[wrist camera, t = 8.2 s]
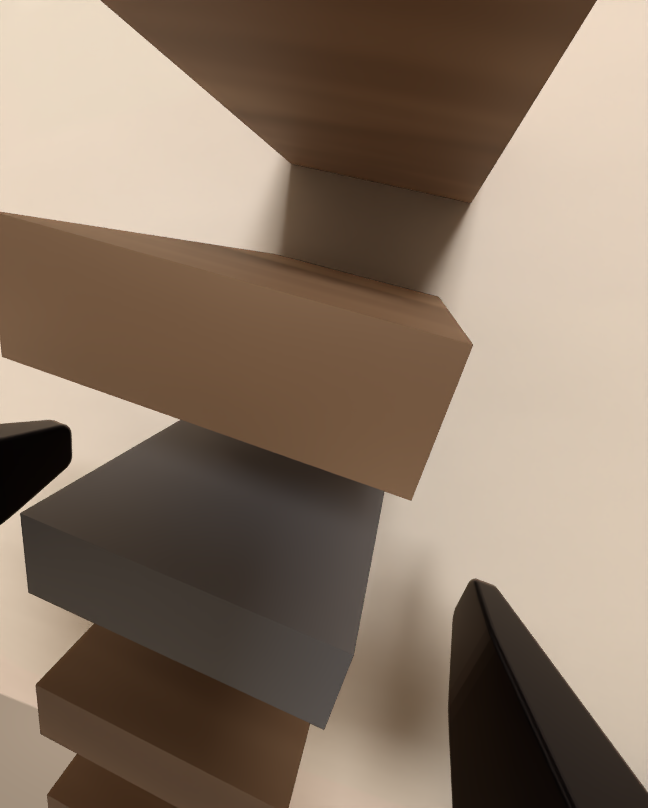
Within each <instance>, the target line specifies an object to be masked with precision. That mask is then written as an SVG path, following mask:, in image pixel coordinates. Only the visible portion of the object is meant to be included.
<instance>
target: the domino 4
mask: <svg viewBox="0 0 648 808" xmlns="http://www.w3.org/2000/svg"><path fill="white" fill-rule="evenodd" d="M47 799H48V808H177V807H175V806H174V805H172V804H170V803H168V802H166V801H164V800H162V799H161V798H159V797H157V796H155V795H153V794H151V793H149V792H147V791H146V790H144V789H142V788H140V787H138V786H136V785H134V784H133V783H131V782H129V781H127V780H125V779H123V778H121V777H120V776H118V775H116V774H114V773H112V772H110V771H108V770H107V769H105V768H103V767H101V766H99V765H97V764H95V763H94V762H92V761H90V760H88V759H86V758H84V757H82V756H81V755H79V754H76V756H75V757H74V759H73V760H72V761H71V763H70V764H69V765H68V767H67V768H66V770H65V771H64V772H63V774H62V775H61V777H60V778H59V779H58V781H57V782H56V783H55V785H54V786H53V787H52V789H51V790H50V792H49V793H48V794H47Z"/></svg>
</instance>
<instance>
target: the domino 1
mask: <svg viewBox="0 0 648 808" xmlns="http://www.w3.org/2000/svg"><path fill="white" fill-rule="evenodd" d="M101 1H102V2H103V3H104V4H105V5H107V6H108V7H109V8H110V9H111V10H112V11H114V12H115V13H116V14H117V15H118V16H119V17H121V18H122V19H123V20H124V21H125V22H126V23H128V24H129V25H130V26H131V27H132V28H133V29H135V30H136V31H137V32H138V33H139V34H140V35H142V36H143V37H144V38H145V39H146V40H147V41H149V42H150V43H151V44H152V45H153V46H154V47H156V48H157V49H158V50H159V51H160V52H161V53H163V54H164V55H165V56H166V57H167V58H168V59H170V60H171V61H172V62H173V63H174V64H175V65H177V66H178V67H179V68H180V69H181V70H182V71H184V72H185V73H186V74H187V75H188V76H189V77H191V78H192V79H193V80H194V81H195V82H196V83H198V84H199V85H200V86H201V87H202V88H203V89H205V90H206V91H207V92H208V93H209V94H210V95H212V96H213V97H214V98H215V99H216V100H217V101H219V102H220V103H221V104H222V105H223V106H224V107H226V108H227V109H228V110H229V111H230V112H231V113H233V114H234V115H235V116H236V117H237V118H238V119H240V120H241V121H242V122H243V123H244V124H245V125H247V126H248V127H249V128H250V129H251V130H252V131H254V132H255V133H256V134H257V135H258V136H259V137H261V138H262V139H263V140H264V141H265V142H266V143H268V144H269V145H270V146H271V147H272V148H273V149H275V150H276V151H277V152H278V153H279V154H280V155H282V156H283V157H284V158H285V159H286V160H287V161H289V162H290V163H291V164H295V165H299V166H304V167H308V168H313V169H318V170H322V171H327V172H331V173H336V174H340V175H345V176H350V177H354V178H359V179H363V180H368V181H372V182H377V183H382V184H386V185H391V186H395V187H400V188H405V189H409V190H414V191H418V192H423V193H427V194H432V195H437V196H441V197H446V198H450V199H455V200H459V201H464V202H469V203H471V202H472V201H473V199H474V197H475V196H476V194H477V193H478V191H479V189H480V188H481V186H482V185H483V183H484V181H485V180H486V178H487V176H488V175H489V173H490V172H491V170H492V168H493V167H494V165H495V164H496V162H497V160H498V159H499V157H500V156H501V154H502V152H503V151H504V149H505V147H506V146H507V144H508V143H509V141H510V139H511V138H512V136H513V135H514V133H515V131H516V130H517V128H518V127H519V125H520V123H521V122H522V120H523V118H524V117H525V115H526V114H527V112H528V110H529V109H530V107H531V106H532V104H533V102H534V101H535V99H536V97H537V96H538V94H539V93H540V91H541V89H542V88H543V86H544V85H545V83H546V81H547V80H548V78H549V77H550V75H551V73H552V72H553V70H554V68H555V67H556V65H557V64H558V62H559V60H560V59H561V57H562V56H563V54H564V52H565V51H566V49H567V48H568V46H569V44H570V43H571V41H572V39H573V38H574V36H575V35H576V33H577V31H578V30H579V28H580V27H581V25H582V23H583V22H584V20H585V19H586V17H587V15H588V14H589V12H590V10H591V9H592V7H593V6H594V4H595V2H596V1H597V0H101Z"/></svg>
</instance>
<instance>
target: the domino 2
mask: <svg viewBox="0 0 648 808" xmlns="http://www.w3.org/2000/svg"><path fill="white" fill-rule="evenodd" d="M0 342H1V352H2V357H4V358H7V359H10V360H13V361H16V362H18V363H21V364H24V365H27V366H30V367H33V368H35V369H38V370H41V371H44V372H47V373H50V374H53V375H55V376H58V377H61V378H64V379H67V380H70V381H72V382H75V383H78V384H81V385H84V386H87V387H89V388H92V389H95V390H98V391H101V392H104V393H107V394H109V395H112V396H115V397H118V398H121V399H124V400H126V401H129V402H132V403H135V404H138V405H141V406H143V407H146V408H149V409H152V410H155V411H158V412H161V413H163V414H166V415H169V416H172V417H175V418H178V419H180V420H183V421H186V422H189V423H192V424H195V425H197V426H200V427H203V428H206V429H209V430H212V431H215V432H217V433H220V434H223V435H226V436H229V437H232V438H234V439H237V440H240V441H243V442H246V443H249V444H251V445H254V446H257V447H260V448H263V449H266V450H269V451H271V452H274V453H277V454H280V455H283V456H286V457H288V458H291V459H294V460H297V461H300V462H303V463H305V464H308V465H311V466H314V467H317V468H320V469H323V470H325V471H328V472H331V473H334V474H337V475H340V476H342V477H345V478H348V479H351V480H354V481H357V482H359V483H362V484H365V485H368V486H371V487H374V488H377V489H379V490H382V491H385V492H388V493H391V494H394V495H396V496H399V497H402V498H405V499H408V500H412V497H413V495H414V492H415V490H416V487H417V485H418V482H419V480H420V477H421V475H422V472H423V470H424V467H425V465H426V462H427V460H428V457H429V455H430V452H431V450H432V447H433V445H434V442H435V440H436V437H437V435H438V432H439V429H440V427H441V424H442V422H443V419H444V417H445V414H446V412H447V409H448V407H449V404H450V402H451V399H452V397H453V394H454V392H455V389H456V387H457V384H458V382H459V379H460V377H461V374H462V372H463V369H464V366H465V364H466V361H467V359H468V356H469V354H470V351H471V349H472V346H473V344H472V342H471V341H470V340H469V338H468V337H467V336H466V334H465V333H464V331H463V330H462V329H461V327H460V326H459V324H458V323H457V322H456V320H455V319H454V317H453V316H452V315H451V313H450V312H449V310H448V309H447V308H446V306H445V305H444V304H443V302H442V301H441V299H440V298H439V297H437V296H433V295H429V294H425V293H422V292H418V291H414V290H410V289H406V288H403V287H399V286H395V285H391V284H387V283H383V282H380V281H376V280H372V279H368V278H364V277H360V276H357V275H353V274H349V273H345V272H341V271H337V270H334V269H330V268H326V267H322V266H318V265H315V264H311V263H307V262H303V261H299V260H295V259H292V258H288V257H284V256H280V255H276V254H270V253H264V252H257V251H251V250H244V249H238V248H231V247H225V246H218V245H212V244H205V243H199V242H193V241H186V240H180V239H173V238H167V237H160V236H154V235H147V234H141V233H134V232H128V231H121V230H115V229H108V228H102V227H95V226H89V225H82V224H76V223H69V222H63V221H56V220H50V219H44V218H37V217H31V216H24V215H18V214H11V213H5V212H0Z"/></svg>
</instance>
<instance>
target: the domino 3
mask: <svg viewBox="0 0 648 808" xmlns="http://www.w3.org/2000/svg"><path fill="white" fill-rule="evenodd" d="M36 693H37V703H38V713H39V723H40V733H41V735H43V736H45V737H47V738H49V739H51V740H53V741H55V742H56V743H59V744H60V745H62V746H64V747H66V748H68V749H69V750H71V751H73V752H75V753H77V754H79V755H81V756H82V757H84V758H86V759H88V760H90V761H92V762H94V763H95V764H97V765H99V766H101V767H103V768H105V769H107V770H108V771H110V772H112V773H114V774H116V775H118V776H120V777H121V778H123V779H125V780H127V781H129V782H131V783H133V784H134V785H136V786H138V787H140V788H142V789H144V790H146V791H147V792H149V793H151V794H153V795H155V796H157V797H159V798H161V799H162V800H164V801H166V802H168V803H170V804H172V805H174V806H175V807H177V808H289V804H290V800H291V796H292V792H293V788H294V784H295V781H296V777H297V773H298V769H299V765H300V761H301V757H302V753H303V749H304V745H305V742H306V738H307V734H308V730H309V726H310V723H308V722H306V721H304V720H302V719H300V718H297V717H295V716H293V715H291V714H289V713H287V712H284V711H282V710H280V709H278V708H276V707H274V706H272V705H269V704H267V703H265V702H263V701H261V700H259V699H256V698H254V697H252V696H250V695H248V694H246V693H244V692H241V691H239V690H237V689H235V688H233V687H231V686H228V685H226V684H224V683H222V682H220V681H218V680H216V679H213V678H211V677H209V676H207V675H205V674H203V673H200V672H198V671H196V670H194V669H192V668H190V667H188V666H185V665H183V664H181V663H179V662H177V661H175V660H172V659H170V658H168V657H166V656H164V655H162V654H160V653H157V652H155V651H153V650H151V649H149V648H147V647H144V646H142V645H140V644H138V643H136V642H134V641H132V640H129V639H127V638H125V637H123V636H121V635H119V634H116V633H114V632H112V631H110V630H108V629H106V628H104V627H101V626H99V625H97V624H95V623H94V624H93V625H92V626H91V627H90V628H89V630H88V631H87V632H86V633H85V634H84V635H83V636H82V637H81V638H80V639H79V640H78V641H77V642H76V643H75V644H74V645H73V646H72V647H71V648H70V649H69V650H68V651H67V652H66V654H65V655H64V656H63V657H62V658H61V659H60V660H59V661H58V662H57V663H56V664H55V665H54V666H53V667H52V668H51V669H50V670H49V671H48V672H47V673H46V674H45V675H44V677H43V678H42V679H41V680H40V681H39V682H38V683H37V684H36Z"/></svg>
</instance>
